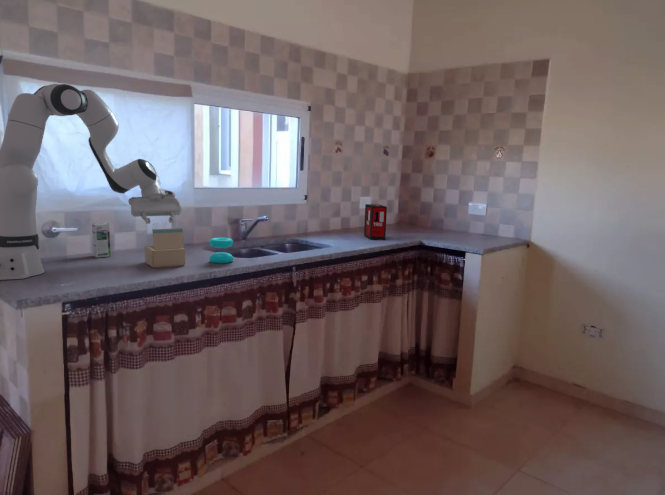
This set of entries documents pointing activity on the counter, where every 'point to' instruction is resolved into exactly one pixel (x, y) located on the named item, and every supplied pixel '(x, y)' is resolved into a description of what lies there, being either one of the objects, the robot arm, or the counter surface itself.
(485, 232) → the counter surface
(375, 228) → the cleaning product box
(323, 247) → the counter surface
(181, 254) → the carton
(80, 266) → the counter surface
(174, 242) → the flap
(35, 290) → the counter surface
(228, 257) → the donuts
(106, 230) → the syrup box
